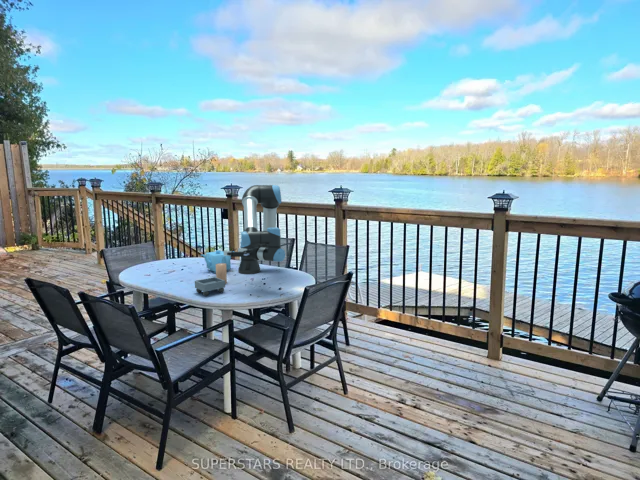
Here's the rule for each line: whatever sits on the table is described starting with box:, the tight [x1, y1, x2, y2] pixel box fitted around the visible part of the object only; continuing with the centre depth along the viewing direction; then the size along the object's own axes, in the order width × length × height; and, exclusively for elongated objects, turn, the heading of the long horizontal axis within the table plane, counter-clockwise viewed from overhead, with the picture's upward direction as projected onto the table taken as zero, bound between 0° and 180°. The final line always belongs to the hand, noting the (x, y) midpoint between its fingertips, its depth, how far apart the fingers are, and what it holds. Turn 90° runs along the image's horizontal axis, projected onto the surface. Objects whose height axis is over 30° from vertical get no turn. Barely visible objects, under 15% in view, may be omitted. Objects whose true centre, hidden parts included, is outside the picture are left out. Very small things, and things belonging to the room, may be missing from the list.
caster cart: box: [194, 276, 226, 297], centre depth 226 cm, size 13×11×7 cm
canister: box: [215, 263, 228, 285], centre depth 246 cm, size 6×6×12 cm
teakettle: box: [201, 249, 235, 274], centre depth 276 cm, size 19×19×15 cm
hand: (231, 251), depth 240 cm, fingers open, 13 cm apart
